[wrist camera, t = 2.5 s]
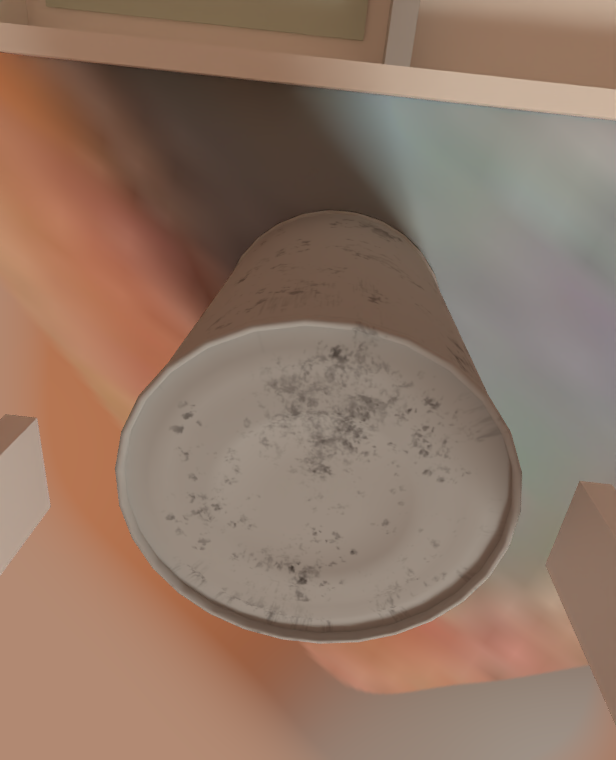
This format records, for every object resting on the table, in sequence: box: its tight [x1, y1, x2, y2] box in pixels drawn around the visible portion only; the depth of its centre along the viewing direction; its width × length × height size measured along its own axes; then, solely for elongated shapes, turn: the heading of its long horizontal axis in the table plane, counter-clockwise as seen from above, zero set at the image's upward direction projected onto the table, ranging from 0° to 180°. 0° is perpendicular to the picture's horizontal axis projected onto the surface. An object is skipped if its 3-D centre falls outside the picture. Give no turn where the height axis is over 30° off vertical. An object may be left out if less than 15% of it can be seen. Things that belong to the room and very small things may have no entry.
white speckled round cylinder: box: [115, 210, 522, 643], centre depth 18 cm, size 10×10×12 cm
